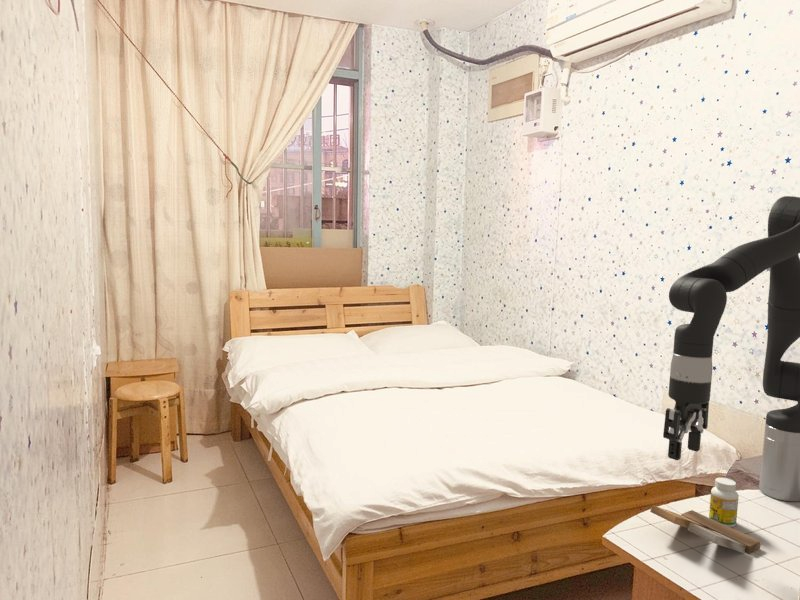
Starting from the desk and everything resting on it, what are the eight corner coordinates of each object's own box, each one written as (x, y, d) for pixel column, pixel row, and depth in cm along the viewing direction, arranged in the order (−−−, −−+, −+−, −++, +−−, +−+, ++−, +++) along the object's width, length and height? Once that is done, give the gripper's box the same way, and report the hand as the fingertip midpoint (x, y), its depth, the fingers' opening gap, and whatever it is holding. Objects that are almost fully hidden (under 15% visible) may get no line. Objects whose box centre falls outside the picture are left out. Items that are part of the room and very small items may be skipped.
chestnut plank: (680, 521, 129) (682, 515, 129) (703, 533, 124) (706, 526, 124) (650, 511, 123) (652, 504, 123) (673, 523, 118) (676, 516, 118)
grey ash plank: (717, 540, 121) (719, 533, 122) (743, 552, 117) (746, 545, 117) (687, 530, 115) (689, 522, 115) (714, 543, 111) (716, 535, 111)
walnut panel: (691, 516, 132) (692, 510, 131) (759, 548, 119) (760, 541, 119) (680, 520, 130) (681, 514, 129) (748, 553, 117) (749, 546, 117)
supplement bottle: (740, 529, 126) (744, 487, 125) (714, 527, 127) (717, 485, 126) (729, 517, 132) (733, 477, 131) (704, 515, 132) (708, 475, 131)
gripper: (693, 385, 109) (686, 468, 111) (725, 376, 118) (718, 452, 120) (654, 377, 115) (648, 456, 117) (687, 369, 124) (681, 442, 126)
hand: (684, 454), depth 118 cm, fingers open, 8 cm apart
